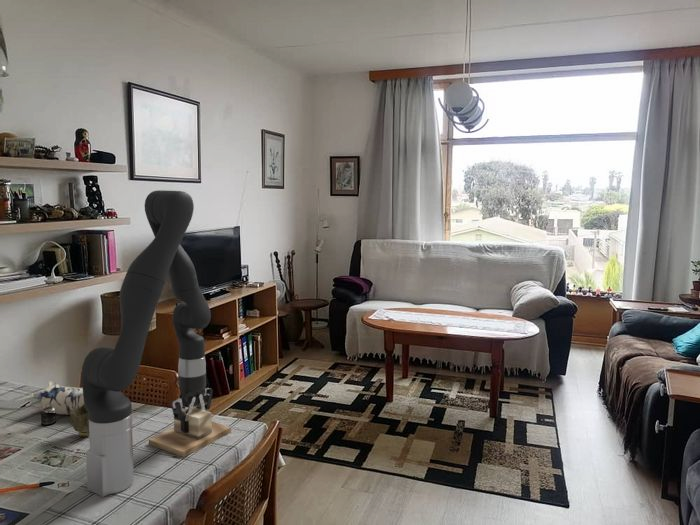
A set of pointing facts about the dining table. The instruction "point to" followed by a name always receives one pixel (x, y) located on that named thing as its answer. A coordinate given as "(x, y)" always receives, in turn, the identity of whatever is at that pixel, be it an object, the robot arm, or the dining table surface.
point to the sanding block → (197, 423)
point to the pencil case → (62, 398)
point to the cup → (80, 420)
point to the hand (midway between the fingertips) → (192, 428)
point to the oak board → (187, 440)
